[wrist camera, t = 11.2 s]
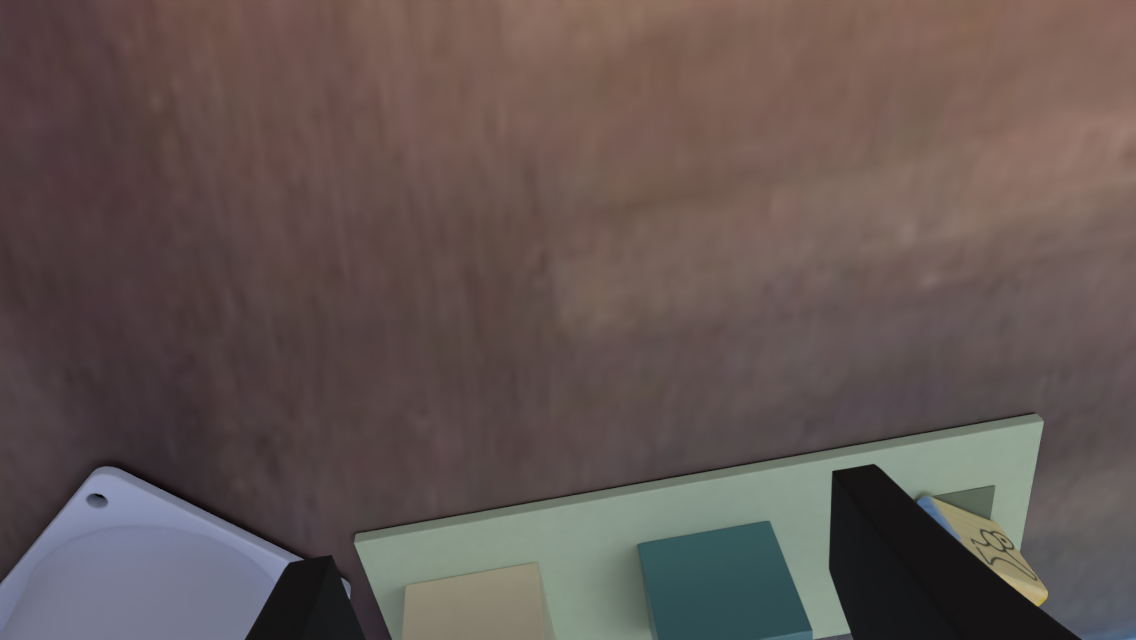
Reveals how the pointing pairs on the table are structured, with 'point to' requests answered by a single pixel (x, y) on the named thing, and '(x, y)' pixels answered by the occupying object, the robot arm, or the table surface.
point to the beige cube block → (479, 607)
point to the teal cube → (722, 587)
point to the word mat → (700, 525)
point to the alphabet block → (987, 546)
